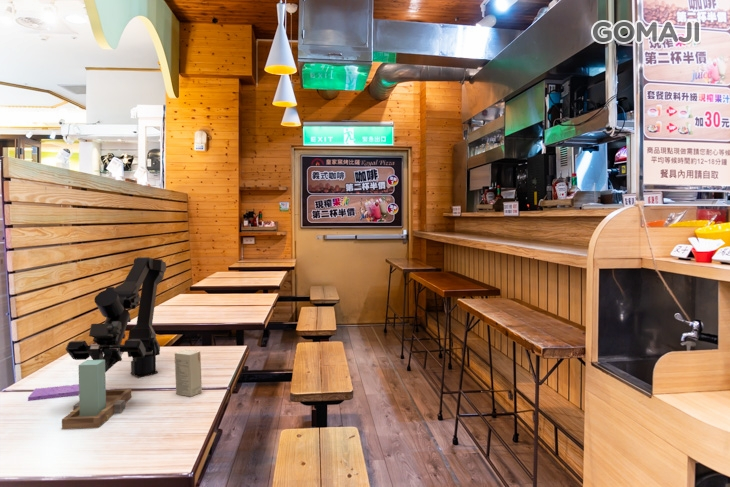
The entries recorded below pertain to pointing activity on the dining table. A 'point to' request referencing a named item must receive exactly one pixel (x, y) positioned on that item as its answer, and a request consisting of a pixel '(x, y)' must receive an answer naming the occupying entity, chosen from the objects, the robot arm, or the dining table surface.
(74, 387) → the sponges
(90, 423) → the wooden tray
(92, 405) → the grey-green tall block
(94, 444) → the dining table surface
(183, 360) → the skincare box
